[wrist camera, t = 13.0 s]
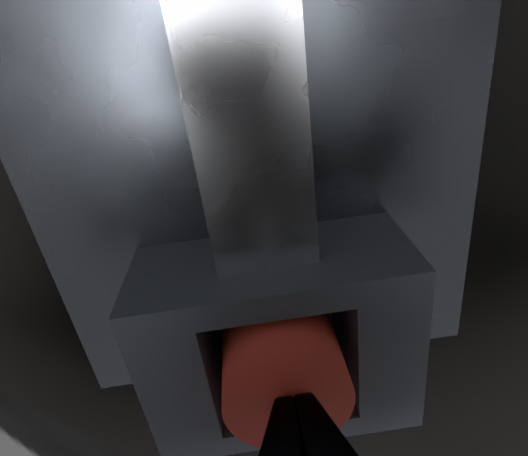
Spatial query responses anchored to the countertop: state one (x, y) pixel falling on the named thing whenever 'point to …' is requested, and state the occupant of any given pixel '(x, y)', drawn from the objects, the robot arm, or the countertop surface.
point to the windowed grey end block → (269, 310)
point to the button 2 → (281, 372)
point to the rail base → (240, 134)
